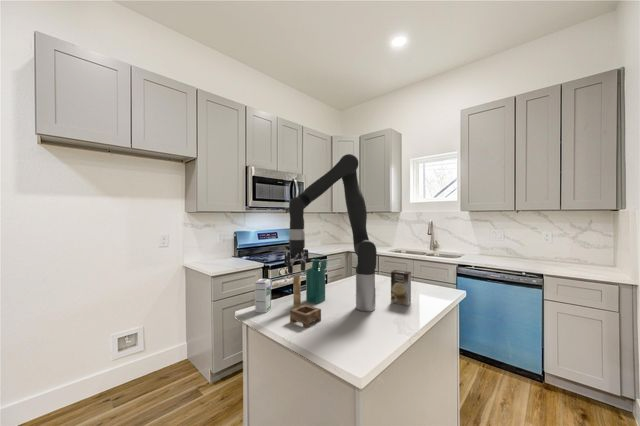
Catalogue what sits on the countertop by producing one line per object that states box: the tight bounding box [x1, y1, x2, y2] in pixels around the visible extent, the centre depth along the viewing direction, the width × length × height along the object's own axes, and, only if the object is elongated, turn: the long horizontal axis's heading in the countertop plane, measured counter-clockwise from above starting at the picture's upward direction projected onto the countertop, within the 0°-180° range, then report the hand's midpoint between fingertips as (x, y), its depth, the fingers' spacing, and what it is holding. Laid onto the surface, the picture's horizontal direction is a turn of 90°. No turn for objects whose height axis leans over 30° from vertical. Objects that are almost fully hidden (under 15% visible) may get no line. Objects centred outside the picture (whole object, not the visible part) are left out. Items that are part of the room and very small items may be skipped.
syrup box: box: [254, 278, 272, 313], centre depth 128 cm, size 6×6×14 cm
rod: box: [292, 275, 302, 309], centre depth 128 cm, size 3×3×16 cm
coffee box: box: [390, 269, 412, 306], centre depth 138 cm, size 9×6×16 cm
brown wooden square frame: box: [289, 304, 322, 329], centre depth 114 cm, size 9×9×5 cm
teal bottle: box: [305, 258, 328, 304], centre depth 141 cm, size 10×8×22 cm
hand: (296, 272), depth 128 cm, fingers open, 8 cm apart
